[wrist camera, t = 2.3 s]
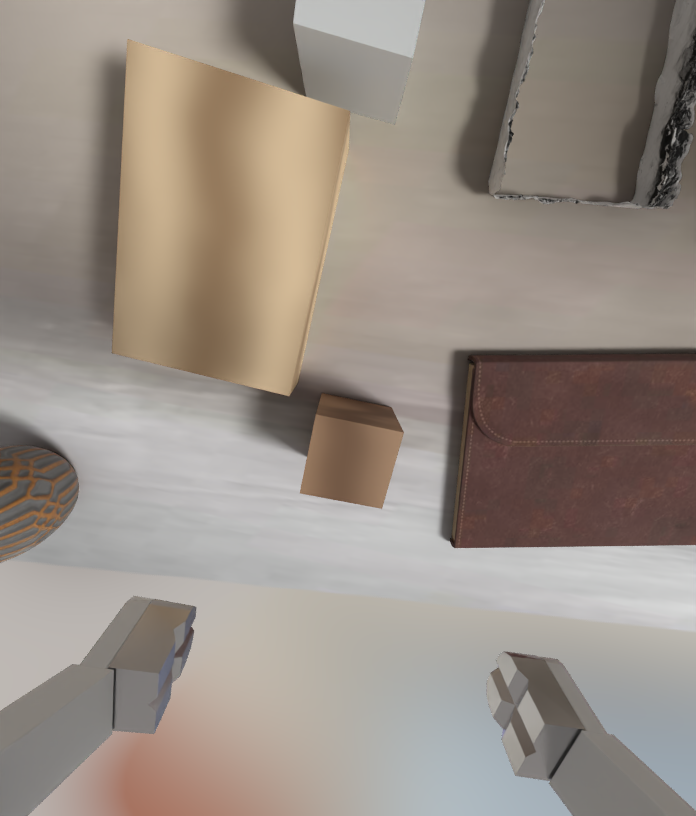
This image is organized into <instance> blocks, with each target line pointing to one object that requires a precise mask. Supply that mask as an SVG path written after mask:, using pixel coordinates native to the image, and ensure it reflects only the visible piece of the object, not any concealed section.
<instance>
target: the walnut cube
mask: <svg viewBox="0 0 696 816" xmlns="http://www.w3.org/2000/svg"><path fill="white" fill-rule="evenodd" d="M403 434H404V432H403V430H402V428H401V426H400V424H399V422H398V420H397V418H396V416H395V414H394V412H393V410H392V408H391V407H386V406H382V405H377V404H372V403H367V402H363V401H358V400H353V399H348V398H344V397H339V396H334V395H329V394H325V393H322V394H321V398H320V401H319V405H318V408H317V412H316V416H315V421H314V426H313V431H312V436H311V440H310V445H309V450H308V455H307V460H306V465H305V470H304V475H303V480H302V485H301V490H300V493H301V494H307V495H312V496H317V497H323V498H328V499H333V500H339V501H344V502H349V503H354V504H360V505H365V506H370V507H376V508H381V509H382V507H383V503H384V500H385V496H386V493H387V489H388V486H389V482H390V479H391V475H392V472H393V468H394V465H395V461H396V458H397V455H398V451H399V448H400V444H401V441H402V437H403Z"/></svg>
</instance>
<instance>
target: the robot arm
mask: <svg viewBox="0 0 696 816" xmlns="http://www.w3.org/2000/svg"><path fill="white" fill-rule="evenodd" d="M195 617H196V607H195V606H190V605H185V604H179V603H173V602H168V601H163V600H157V599H150V598H145V597H138V596H133V597H132V598H131V599H130V600H128V601H127V602H126V603H125V605H124V606H123V607H122V609H121V610H120V611H119V613H118V614H117V615H116V617H115V618H114V620H113V621H112V622H111V623H110V625H109V626H108V628H107V629H106V630H105V632H104V633H103V634H102V636H101V637H100V638H99V640H98V641H97V642H96V644H95V645H94V647H93V648H92V649H91V650H90V652H89V653H88V654H87V656H86V657H85V658H84V660H83V661H82V663H81V664H80V665H76V664H72V665H70V666H69V667H67V668H66V669H64V670H63V671H61V672H60V673H58V674H56V675H55V676H53V677H52V678H50V679H49V680H47V681H46V682H44V683H43V684H41V685H40V686H38V687H36V688H35V689H33V690H32V691H30V692H29V693H27V694H25V695H24V696H22V697H21V698H19V699H18V700H16V701H15V702H13V703H12V704H10V705H9V706H7V707H5V708H4V709H2V710H1V711H0V816H28V815H29V814H30V813H31V812H32V811H33V810H34V809H35V808H36V807H37V806H38V805H39V804H40V803H41V802H42V801H43V800H44V799H45V798H46V797H47V796H49V795H50V793H52V792H53V791H54V790H55V789H56V788H57V787H58V786H59V785H60V784H61V783H62V782H63V781H64V780H65V779H66V778H67V777H68V776H69V775H70V774H71V773H72V772H73V771H74V770H75V769H76V768H77V767H78V766H79V765H80V764H81V763H83V762H84V761H85V760H86V759H87V758H88V757H89V756H90V755H91V754H92V753H93V752H94V751H95V750H96V749H97V748H98V747H99V746H100V745H101V744H102V743H103V742H104V741H105V740H106V739H107V738H108V737H109V736H110V735H111V734H112V731H124V732H136V733H149V734H154V733H155V731H156V729H157V727H158V724H159V722H160V720H161V718H162V716H163V713H164V711H165V709H166V707H167V704H168V702H169V700H170V696H171V687H172V683H173V682H174V681H175V680H176V679H177V678H179V677H180V675H181V673H182V670H183V668H184V666H185V663H186V661H187V658H188V655H189V652H190V649H191V645H192V640H193V635H194V630H193V628H192V627H191V626H192V624H193V621H194V619H195ZM496 662H497V665H498V668H497V669H495V670H494V671H492V672H491V673H490V675H489V678H488V680H487V689H486V692H487V693H486V695H487V699H488V704H489V707H490V710H491V713H492V716H493V718H494V719H495V720H496V721H497V723H498V724H499V725H500V726H501V727H502V728H503V732H502V742H503V745H504V747H505V750H506V753H507V755H508V758H509V761H510V763H511V766H512V768H513V771H514V774H515V776H521V777H527V778H533V779H540V780H547V781H550V783H549V784H550V785H551V787H552V788H553V790H554V791H555V792H556V794H557V795H558V796H559V798H560V799H561V800H562V802H563V803H564V804H565V806H566V807H567V808H568V810H569V811H570V812H571V814H572V815H573V816H696V811H695V810H694V809H693V808H692V807H691V806H690V805H689V804H688V803H687V802H686V801H685V800H683V799H682V798H681V797H680V796H679V795H678V794H677V793H676V792H675V791H674V790H673V789H672V788H670V787H669V786H668V785H667V784H666V783H665V782H664V781H663V780H662V779H661V778H660V777H659V776H657V775H656V774H655V773H654V772H653V771H652V770H651V769H650V768H649V767H648V766H647V765H646V764H644V763H643V762H642V761H641V760H640V759H639V758H638V757H637V756H636V755H635V754H634V753H633V752H631V751H630V750H629V749H628V748H627V747H626V746H625V745H624V744H623V743H622V742H620V740H618V739H617V738H616V737H615V736H614V735H612V734H607V732H606V731H605V729H604V728H603V726H602V724H601V723H600V721H599V720H598V718H597V717H596V715H595V713H594V712H593V710H592V709H591V707H590V706H589V704H588V702H587V701H586V699H585V698H584V696H583V695H582V693H581V691H580V690H579V688H578V687H577V686H576V684H575V682H574V680H573V679H572V677H571V676H570V674H569V673H568V671H567V670H566V668H565V666H564V665H563V664H562V663H561V662H560V661H559V660H558V659H552V658H545V657H538V656H535V655H527V654H519V653H512V652H502V653H500V654H499V656H498V658H497V660H496Z"/></svg>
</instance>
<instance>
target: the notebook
mask: <svg viewBox="0 0 696 816" xmlns="http://www.w3.org/2000/svg"><path fill="white" fill-rule="evenodd" d="M468 360H473V362H474V363H469V371H468V380H467V390H466V400H465V410H464V420H463V430H462V439H461V449H460V459H459V469H458V479H457V489H456V499H455V508H454V518H453V528H452V538H450V542H451V545H452V546H453V547H454V548H494V547H574V546H654V545H696V354H582V355H470V356H469V357H468Z"/></svg>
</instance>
